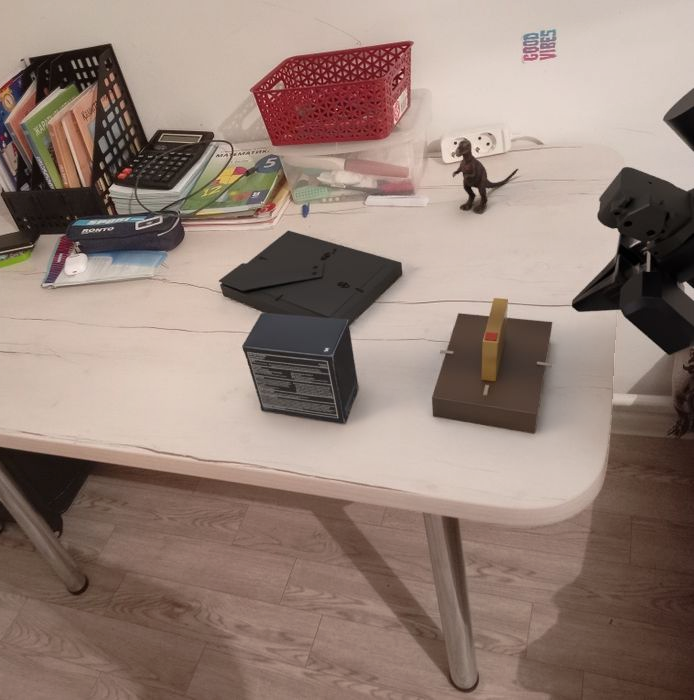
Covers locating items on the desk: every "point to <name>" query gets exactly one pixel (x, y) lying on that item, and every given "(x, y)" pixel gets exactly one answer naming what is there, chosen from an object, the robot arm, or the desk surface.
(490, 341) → the yellow rectangular slab
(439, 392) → the plate
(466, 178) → the dinosaur model
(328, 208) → the desk surface
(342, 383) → the small box
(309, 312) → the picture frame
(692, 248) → the robot arm
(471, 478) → the desk surface
